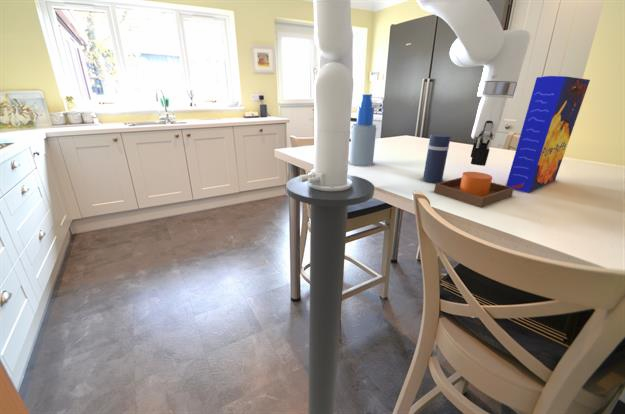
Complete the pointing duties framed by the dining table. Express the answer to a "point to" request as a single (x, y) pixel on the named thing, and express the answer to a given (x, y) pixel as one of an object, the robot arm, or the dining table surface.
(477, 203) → the tray
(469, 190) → the cap
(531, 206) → the dining table surface
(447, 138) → the spray can
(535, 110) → the cereal box
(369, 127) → the grey and blue bottle
